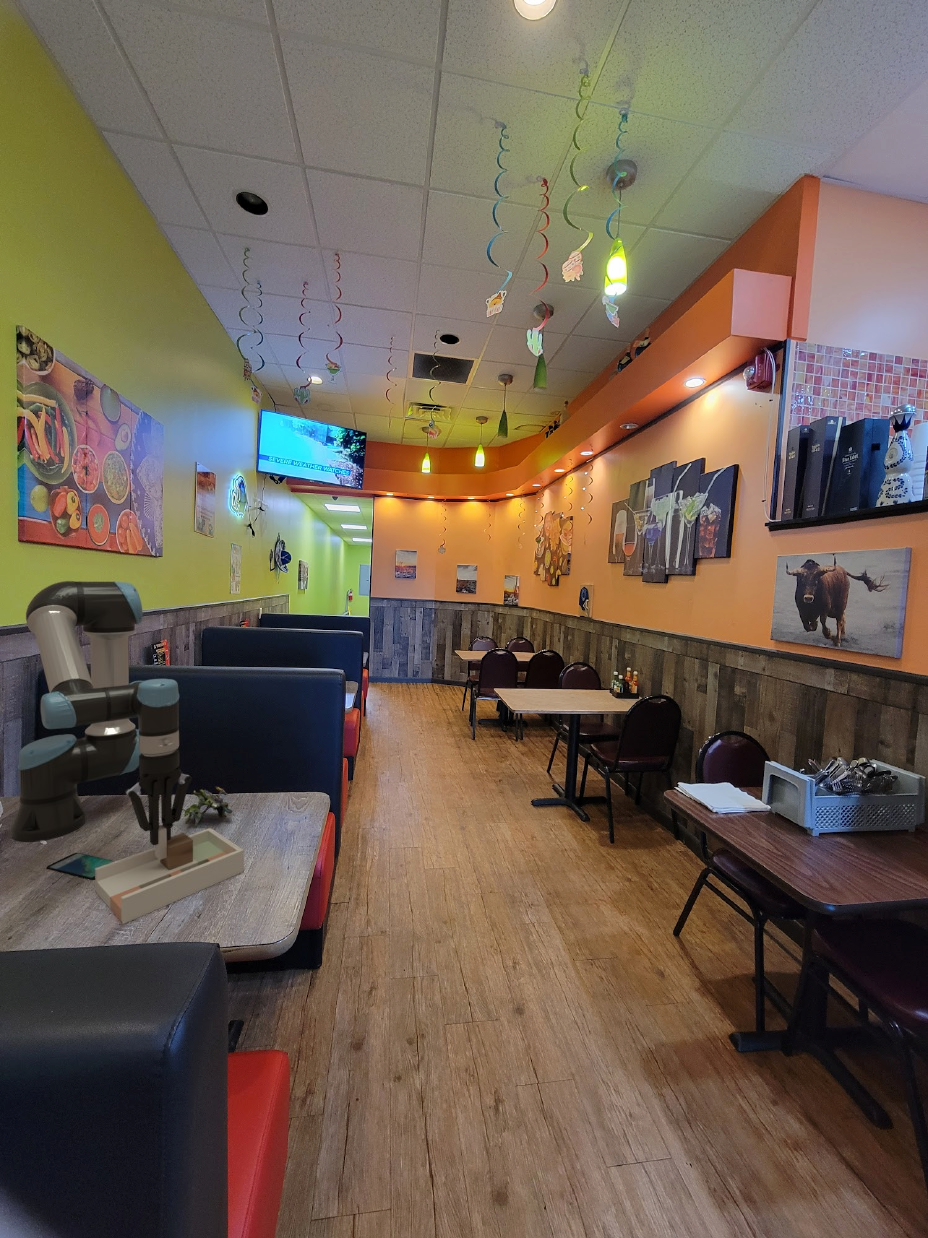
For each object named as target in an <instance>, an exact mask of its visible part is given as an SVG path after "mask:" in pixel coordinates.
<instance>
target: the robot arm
mask: <svg viewBox="0 0 928 1238" xmlns="http://www.w3.org/2000/svg"><path fill="white" fill-rule="evenodd" d="M25 611H26V612H25V620H26V625H27V627H28V630H29V631H30V632H31V633H33V634H34V635H35V638H36V643H37V646H38V651H39V655H40V659H41V663H42V667H43V670H44V676H45V680H46V683H47V687H48V691H49V692H48V693H45V694H43V695H42V697H41V699H40V716H41V723H42V725H43V727H44V728H46V729H48V730H57V729H59V730H60V729H70V728H74V727H75V728H76V727H80V726H86V725H87V726H88V725H89V726H88V727H87V728H86V729H85V731H84V737H82V738H77V737H76V736H75V735H74V734H71V733H70V734H68V733H67V734H66V733H64V734H58V735H51V736H47V737H43V738H41V739H37V740H34V741H33V742H30V743H28V744H26V745H25V746H23V747H22V748H21V749H20V751H19V753H18V765H17V769H18V773H19V775H18V776H19V777H18V778H19V807H18V809H17V811H16V815H15V817H14V819H13V820H14V821H13V822H12V826H11V837H12V839H13V840H15V841H19V842H38V841H43V840H49V839H53V838H57V837H60V836H64V835H67V834H69V833H71V832H74V831H76V830H78V829H79V828H81V827H82V826H83V825H84V824H85V823H86V821H87V817H86V816H87V815H86V814H87V813H86V812H87V811H86V809H85V807H84V805H83V804H82V801H81V799H80V797H79V795H78V784H80V783H84V782H85V783H86V782H91V781H95V780H100V779H104V778H109V777H114V776H121V775H123V774H126V773H127V774H128V773H131V772H133V771H136V769H137V768H138V769H139V770H138V773H139V774H138V777H137V780H136V784H134V785H133V786H132V787H131V788H126V789H125V791H124V793H125V795H126V796H127V797H128V799H130V801H131V804H132V807H133V810H134V815H135V817H136V820H137V823H138V825H139V828H140V829H141V830H143V832H149V842H150V845H153V846H154V848H155V856H156V857H157V858H158V859H159V860H161V859H164V858H167V841H168V840H170V839H171V837H172V828H173V827H174V823H176V822H179V821H180V820H181V817H182V813H183V810H182V809H183V808H184V804H185V799H186V795H187V793H188V792H187V790H188V788H189V786H190V784H191V782H192V781H193V777H192V776H191V775H189V774H187V773H183V772H182V770H181V769H180V750H179V746H180V731H179V730H180V728H179V727H180V723H179V720H180V719H179V718H180V716H179V715H180V714H179V707H180V706H179V705H180V703H179V699H180V693H179V685H178V682H177V680H175V679H170V678H169V679H168V678H153V679H147V680H135V681H132V682H129V681H130V679H129V677H130V676H129V673H130V671H129V637H130V636H131V635H133V634H134V632H135V630H136V629H135V625H139V624H141V623H142V621H143V615H144V614H143V605H142V600H141V597H140V594H139V592H138V590H137V588H136V587H135V586H134V585H133V584H132V583H129V582H122V581H76V580H75V581H73V580H66V581H59V582H55V583H53V584H50V585H48V586H46V587H45V588H43V589H41V590H40V591H38V593H37V594H36V595H34V597H32V599H31V600H30V602H29V604H28V606H27V608H26V610H25ZM77 626H78V627H79V626H80V627H81V626H82V632H83V633H84V634H85V635H86V636H88V637H89V640H90V671H89V670H88V666H87V663H86V660H85V656H84V653H83V650H82V647H81V644H80V641H79V638H78V634H77V631H76V629H75V628H76V627H77ZM134 718H137V719H138V729H137V728H136V725H135V723H133V722H132V721H131V720H130V719H134ZM176 784H177V786H176V791H175V793H174V798H173V803H172V796H173V788H174V787H175V785H176ZM141 789H142V790H143V791H144V792H145V793H146V794H147V799H148V807H147V808H148V816H147V814H146V809H145V807H144V805H143V801H142V798H141V794H142V792H141ZM160 804H161V805H160ZM160 807H161V809H160ZM160 810H161V813H160ZM160 814H161V824H160Z"/></svg>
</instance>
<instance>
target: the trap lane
mask: <svg viewBox="0 0 928 1238" xmlns="http://www.w3.org/2000/svg"><path fill="white" fill-rule="evenodd" d="M187 836H188V837H190V838H191V839H192V840H193V862H190V863H188V864H185V865H182V866H180V867H177V868H175V869H172V870H168V869H167V868H166V867H165V866H164V865H163V864H161V863H160V860H159V859H158V858H157V857H156V856H155V847H153V848H149V849H146V850H144V851H141V852H139V853H135V854H132V855H130V856H127V857H124V858H121V859H118V860H114V861H115V862H112V863H109V864H106V865H103V866H101V867H98V868H95V880H94V881H95V882H94V884H95V887H94V888H95V889H94V891H95V893H96V892H97V893H96V894H97V895H98V896H99V897H100V899H101V900H102V901H103V902H104V903H105V904H106V906H107V907H108V908H109V910H111V911H112V912H113V914H114V915H115V916H116V917H117V918H118V920H119V921H120V922H121V923H122V924H123V925H125V924H127V923H129V922H132V921H133V920H136V919H138V918H141V917H144V916H145V915H148V914H149V913H152V912H154V911H157V910H158V909H161V908H164V907H166V906H168V905H170V904H173V903H175V902H177V901H179V900H181V899H184V898H186V897H188V896H190V895H193V894H195V893H197V892H200V891H202V890H204V889H207V888H210V887H211V886H213V885H216V884H218V883H220V882H221V883H222V882H223V881H225V880H228V879H230V878H233V877H234V876H237V875H239V874H241V873H243V872H244V871H245V870H244V869H245V863H244V862H245V859H244V858H245V856H244V855H245V854H244V852H245V851H244V849H243V848H241V847H240V846H238V845H236V844H235V843H233V842H232V841H231V840H229V839H228V838H226V837H224V835H222V834H220V833H219V832H217V831H216V830H214V829H212V827H209V828H207V829H204V830H200V831H198V832H195V833H192V834H190V835H187Z"/></svg>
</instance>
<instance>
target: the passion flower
mask: <svg viewBox="0 0 928 1238" xmlns="http://www.w3.org/2000/svg"><path fill="white" fill-rule="evenodd" d="M215 789H216V790H217V791H218V792H219V793H218V794H215V795H214V794H213V793H212V792H210V791H208V790H206V789H204V790H203V789H200V790H199V792H196V790H193V794H194V796H196V797H197V798H198V802H197V803H198V804H196V803H193V804H191V806H190V807H188V808H186V809H182V811H184V817H185V818H186V817H187V816H188V817H187V818H186V820H185V824H186V825H187V824H188V822H189V820H190V818H191V817H193V818H194V819H195V824H194V826H193V829H195V827H196V826H197V824H198V823H199V822H200V821H201V820H202V819H203V817H204V815H205V814H206V812H207V811H208V810H210V808H212V810H214V811H216V812H217V815H218V816H219V818H225V819H226V818H227V814H232V813H233V810H232V809H230V805H229V802H227V801H224V799H225V798H223V797H220V796H221V795H224V796H227V795H229V794H228V793H227V792H226V791H225V790H224V788H221V787H220V786H215ZM202 806H206V808H205V809H204V810H203V811H202V812H201V807H202ZM226 813H227V814H226Z"/></svg>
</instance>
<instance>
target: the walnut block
mask: <svg viewBox="0 0 928 1238" xmlns="http://www.w3.org/2000/svg"><path fill="white" fill-rule="evenodd" d="M188 836H189V835H187V834H186V833H184V832H181V833H178V834H176V835H173V836H172V835H171V839H170V840H168V841H167V858H164V859H161V860H160V863H161V864H163V865H164V866H165V867H166V868H167V869H168V870H172V869H175V868H177V867H180V866H182V865H185V864H188V863H190V862H193V840H192V839H191V838H190V837H188Z"/></svg>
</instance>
